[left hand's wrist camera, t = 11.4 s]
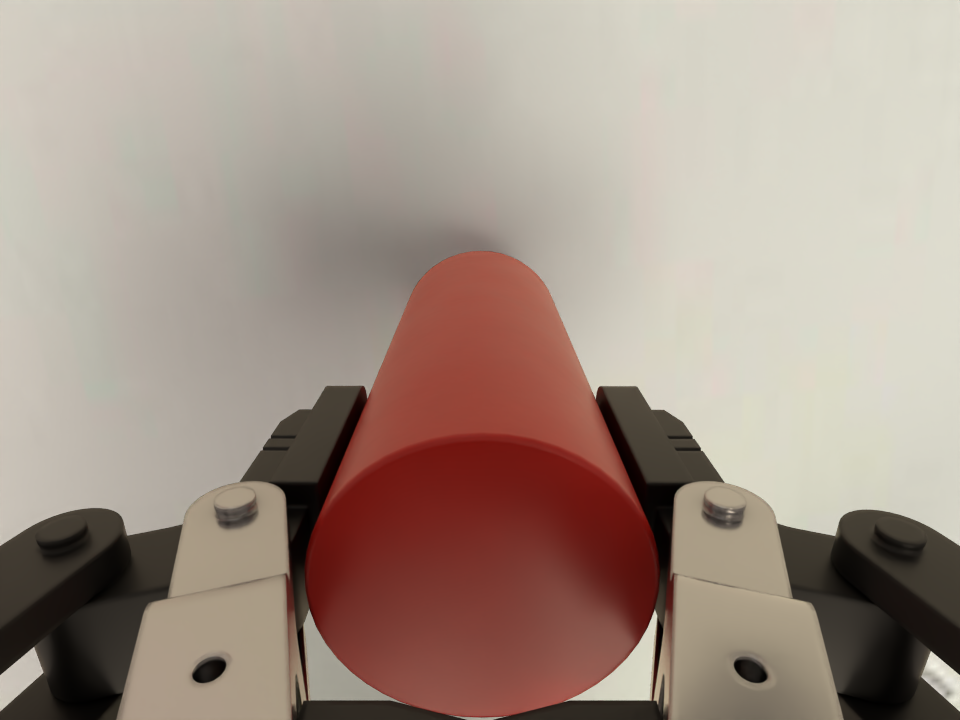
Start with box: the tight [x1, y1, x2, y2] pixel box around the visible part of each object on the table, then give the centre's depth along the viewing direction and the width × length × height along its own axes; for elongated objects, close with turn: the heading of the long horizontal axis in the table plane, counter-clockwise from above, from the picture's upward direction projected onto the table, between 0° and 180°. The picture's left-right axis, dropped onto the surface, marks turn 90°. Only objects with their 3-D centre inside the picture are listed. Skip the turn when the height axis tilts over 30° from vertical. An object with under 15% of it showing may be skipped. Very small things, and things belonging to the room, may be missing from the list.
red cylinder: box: [304, 251, 660, 717], centre depth 13 cm, size 5×5×11 cm
